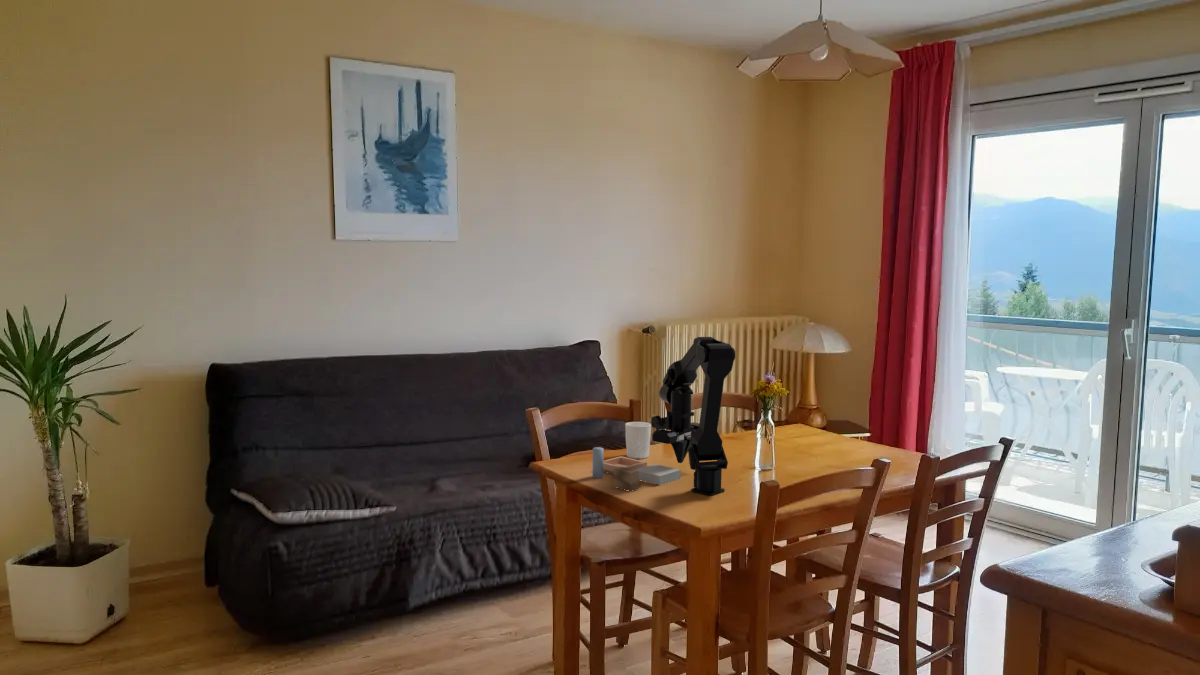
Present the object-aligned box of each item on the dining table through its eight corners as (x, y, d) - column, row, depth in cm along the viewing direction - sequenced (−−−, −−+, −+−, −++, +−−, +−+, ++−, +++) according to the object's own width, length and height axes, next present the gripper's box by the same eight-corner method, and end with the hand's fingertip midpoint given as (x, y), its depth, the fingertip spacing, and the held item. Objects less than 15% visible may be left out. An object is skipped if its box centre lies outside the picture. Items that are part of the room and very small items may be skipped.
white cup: (655, 455, 251) (655, 423, 251) (643, 460, 245) (643, 427, 244) (632, 452, 255) (632, 420, 255) (620, 457, 249) (620, 424, 248)
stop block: (638, 489, 214) (638, 470, 213) (630, 491, 212) (630, 472, 211) (621, 484, 218) (621, 466, 217) (613, 487, 216) (613, 468, 215)
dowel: (605, 476, 226) (605, 448, 225) (598, 479, 224) (598, 450, 223) (597, 474, 228) (598, 446, 227) (590, 476, 226) (590, 448, 225)
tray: (646, 470, 233) (647, 462, 233) (623, 476, 226) (623, 468, 226) (620, 464, 240) (621, 456, 240) (597, 470, 233) (597, 462, 233)
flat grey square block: (680, 480, 224) (680, 469, 224) (659, 487, 218) (659, 476, 218) (655, 474, 231) (655, 464, 230) (634, 480, 224) (634, 469, 224)
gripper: (678, 400, 242) (678, 452, 243) (637, 408, 228) (636, 463, 230) (709, 405, 234) (708, 459, 236) (668, 414, 221) (667, 470, 222)
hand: (680, 462), depth 231 cm, fingers closed
